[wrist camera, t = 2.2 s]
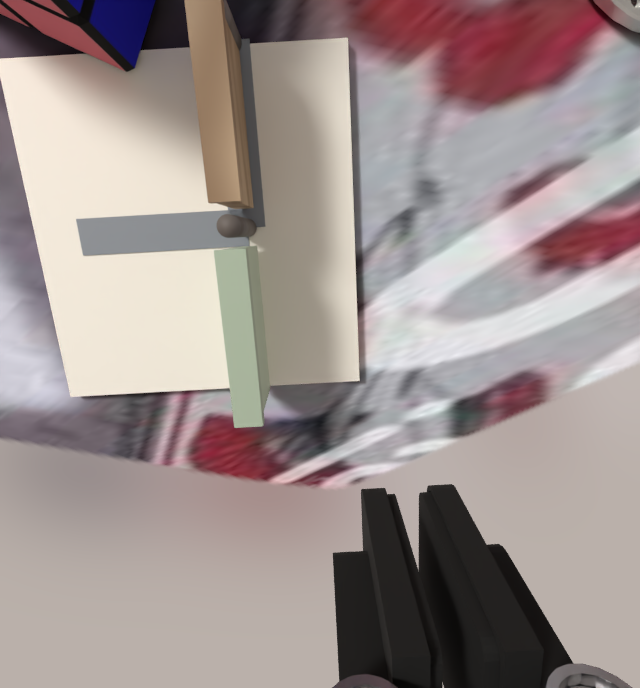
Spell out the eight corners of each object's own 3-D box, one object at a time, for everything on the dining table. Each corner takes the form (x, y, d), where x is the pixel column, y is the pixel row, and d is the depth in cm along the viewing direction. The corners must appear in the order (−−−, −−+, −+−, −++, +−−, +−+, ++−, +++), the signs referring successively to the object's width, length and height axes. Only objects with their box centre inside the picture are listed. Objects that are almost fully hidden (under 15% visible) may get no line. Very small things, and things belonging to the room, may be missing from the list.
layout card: (346, 38, 22) (347, 32, 21) (358, 377, 27) (359, 381, 26) (4, 59, 22) (-6, 54, 21) (75, 393, 27) (70, 397, 26)
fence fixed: (242, 28, 21) (216, -44, 16) (261, 236, 24) (244, 237, 18) (214, 29, 21) (179, -42, 16) (236, 237, 24) (212, 238, 18)
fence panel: (235, 246, 24) (213, 250, 18) (260, 245, 24) (245, 248, 18) (250, 389, 26) (234, 427, 21) (273, 388, 26) (262, 426, 21)
